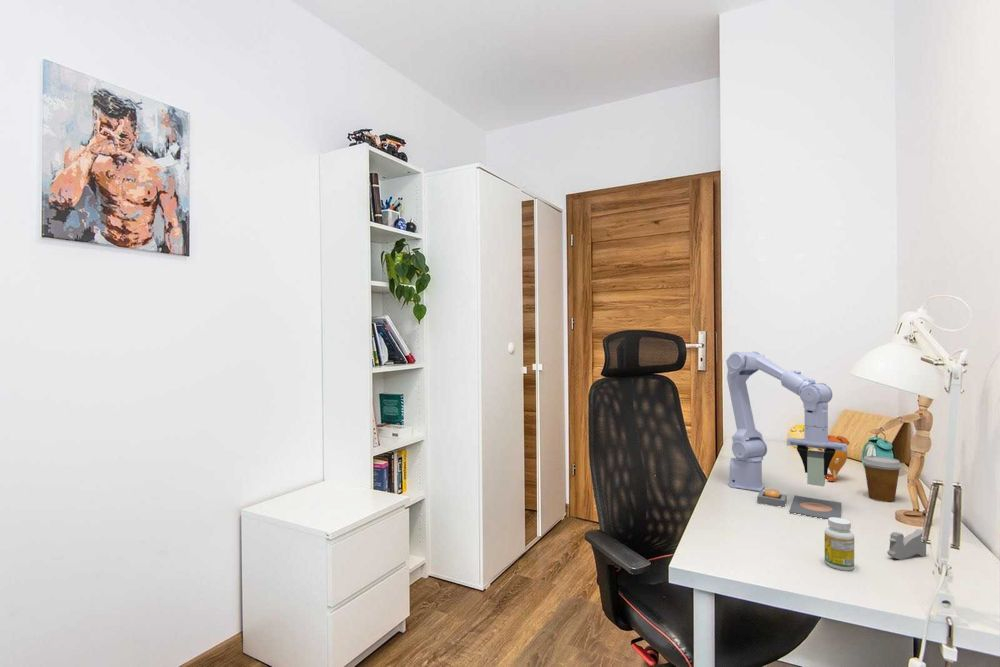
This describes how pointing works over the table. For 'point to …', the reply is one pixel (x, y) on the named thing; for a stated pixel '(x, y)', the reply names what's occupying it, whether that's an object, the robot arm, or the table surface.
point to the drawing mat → (815, 507)
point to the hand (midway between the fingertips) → (816, 473)
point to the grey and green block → (815, 468)
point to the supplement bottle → (839, 544)
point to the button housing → (772, 499)
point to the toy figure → (836, 457)
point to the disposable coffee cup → (881, 477)
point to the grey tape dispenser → (906, 545)
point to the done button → (772, 493)
